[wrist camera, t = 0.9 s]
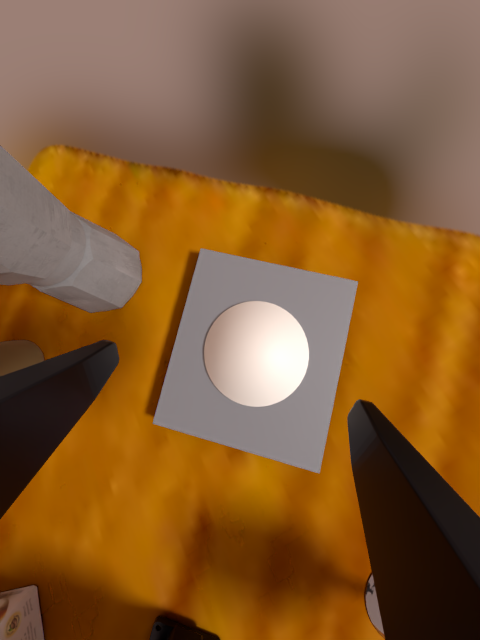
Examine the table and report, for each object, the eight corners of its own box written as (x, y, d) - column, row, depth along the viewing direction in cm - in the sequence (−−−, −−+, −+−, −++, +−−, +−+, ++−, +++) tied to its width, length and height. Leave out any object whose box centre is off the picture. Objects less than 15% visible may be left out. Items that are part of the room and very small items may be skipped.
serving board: (314, 464, 21) (320, 474, 19) (159, 418, 22) (151, 424, 21) (351, 285, 22) (359, 281, 21) (204, 254, 24) (200, 247, 22)
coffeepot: (168, 300, 24) (-104, 167, 6) (94, 345, 24) (-401, 349, 6) (107, 192, 26) (-232, -155, 8) (39, 233, 26) (-452, -19, 8)
